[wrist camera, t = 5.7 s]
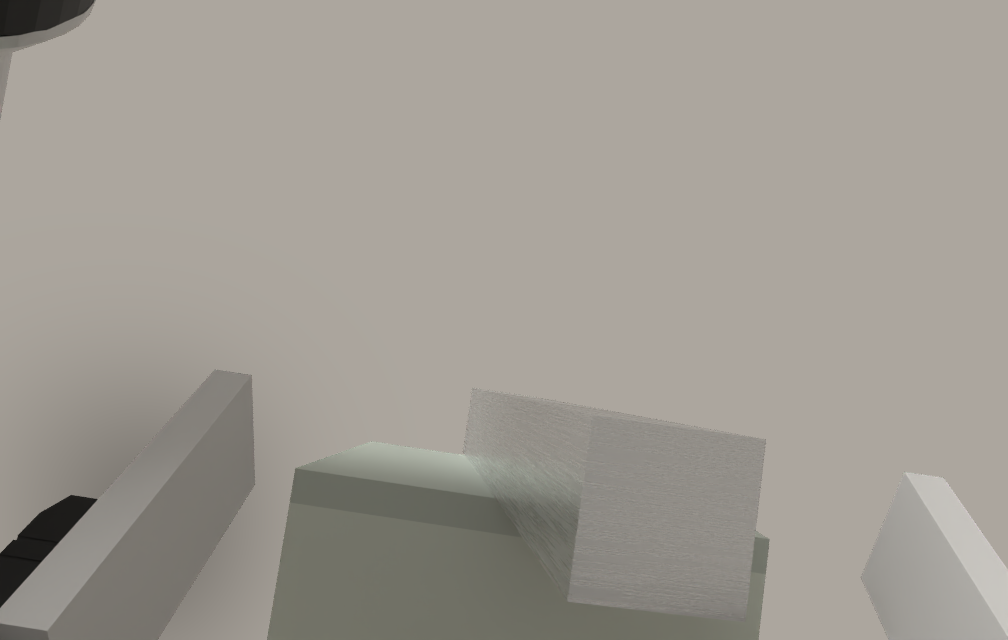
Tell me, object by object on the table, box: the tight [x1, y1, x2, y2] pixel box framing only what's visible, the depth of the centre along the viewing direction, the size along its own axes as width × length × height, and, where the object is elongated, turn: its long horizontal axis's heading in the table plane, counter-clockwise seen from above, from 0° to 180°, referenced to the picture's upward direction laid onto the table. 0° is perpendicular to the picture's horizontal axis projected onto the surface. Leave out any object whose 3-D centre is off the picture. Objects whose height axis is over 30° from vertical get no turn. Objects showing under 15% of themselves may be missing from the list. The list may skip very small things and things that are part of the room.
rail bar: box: [463, 388, 766, 622], centre depth 25 cm, size 24×3×3 cm, turn 7°
